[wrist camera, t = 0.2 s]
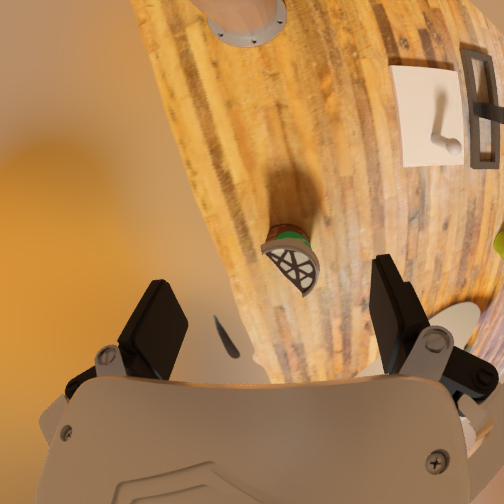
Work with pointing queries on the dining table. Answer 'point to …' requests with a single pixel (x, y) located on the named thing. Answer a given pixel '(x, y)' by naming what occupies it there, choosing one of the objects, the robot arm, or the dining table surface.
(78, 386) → the robot arm
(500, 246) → the soap dispenser
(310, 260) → the food container
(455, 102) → the white pegged base
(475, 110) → the grey frame with handle
